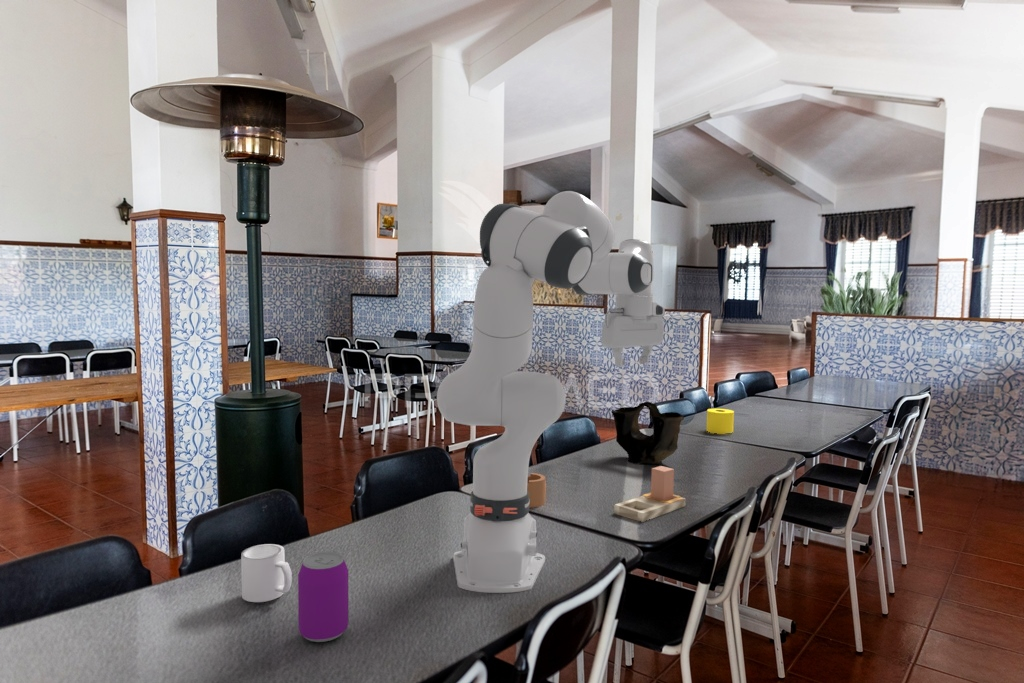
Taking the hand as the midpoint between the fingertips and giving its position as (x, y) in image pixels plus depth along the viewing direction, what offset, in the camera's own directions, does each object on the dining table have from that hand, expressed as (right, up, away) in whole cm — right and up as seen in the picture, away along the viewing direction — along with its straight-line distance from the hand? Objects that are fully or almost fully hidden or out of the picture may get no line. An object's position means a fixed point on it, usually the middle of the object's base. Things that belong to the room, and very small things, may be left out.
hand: (632, 365), depth 165 cm
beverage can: (-59, -41, -57) cm, 92 cm away
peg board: (+6, -37, +5) cm, 38 cm away
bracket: (-24, -36, +16) cm, 46 cm away
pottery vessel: (+14, -34, +54) cm, 65 cm away
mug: (-73, -40, -44) cm, 93 cm away
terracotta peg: (+9, -37, +9) cm, 39 cm away
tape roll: (+52, -31, +99) cm, 116 cm away
